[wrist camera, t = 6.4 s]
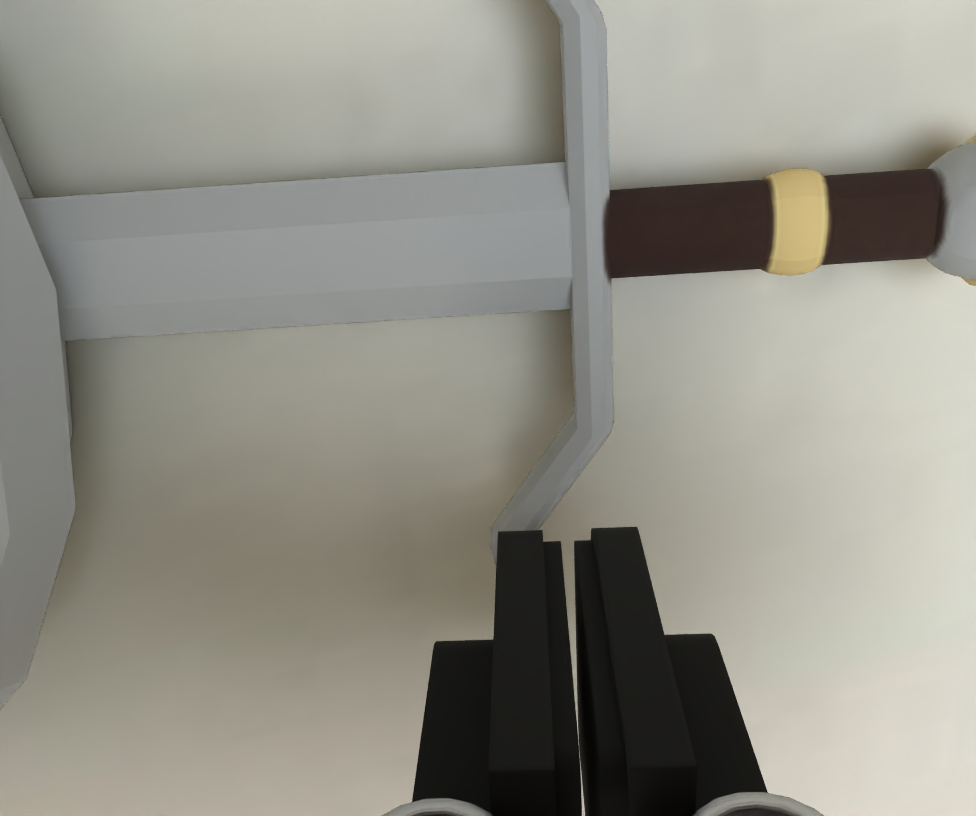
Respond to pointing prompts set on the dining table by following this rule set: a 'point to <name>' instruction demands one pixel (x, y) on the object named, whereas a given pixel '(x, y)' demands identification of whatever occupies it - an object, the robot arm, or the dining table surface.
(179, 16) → the dining table surface
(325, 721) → the dining table surface
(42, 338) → the frying pan
